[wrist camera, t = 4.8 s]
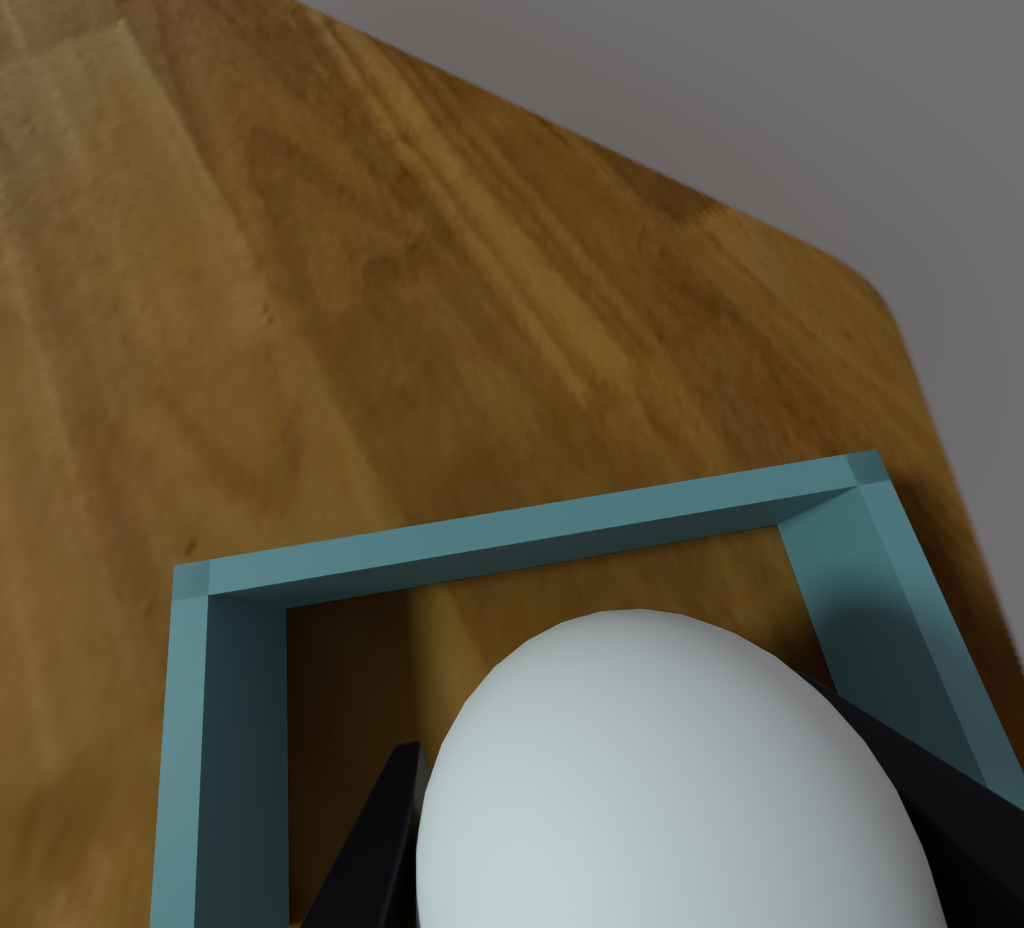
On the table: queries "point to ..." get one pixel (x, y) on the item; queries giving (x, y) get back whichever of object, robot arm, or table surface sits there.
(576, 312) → the table surface
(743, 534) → the table surface
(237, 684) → the u-shaped channel
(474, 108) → the table surface
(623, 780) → the lightbulb
